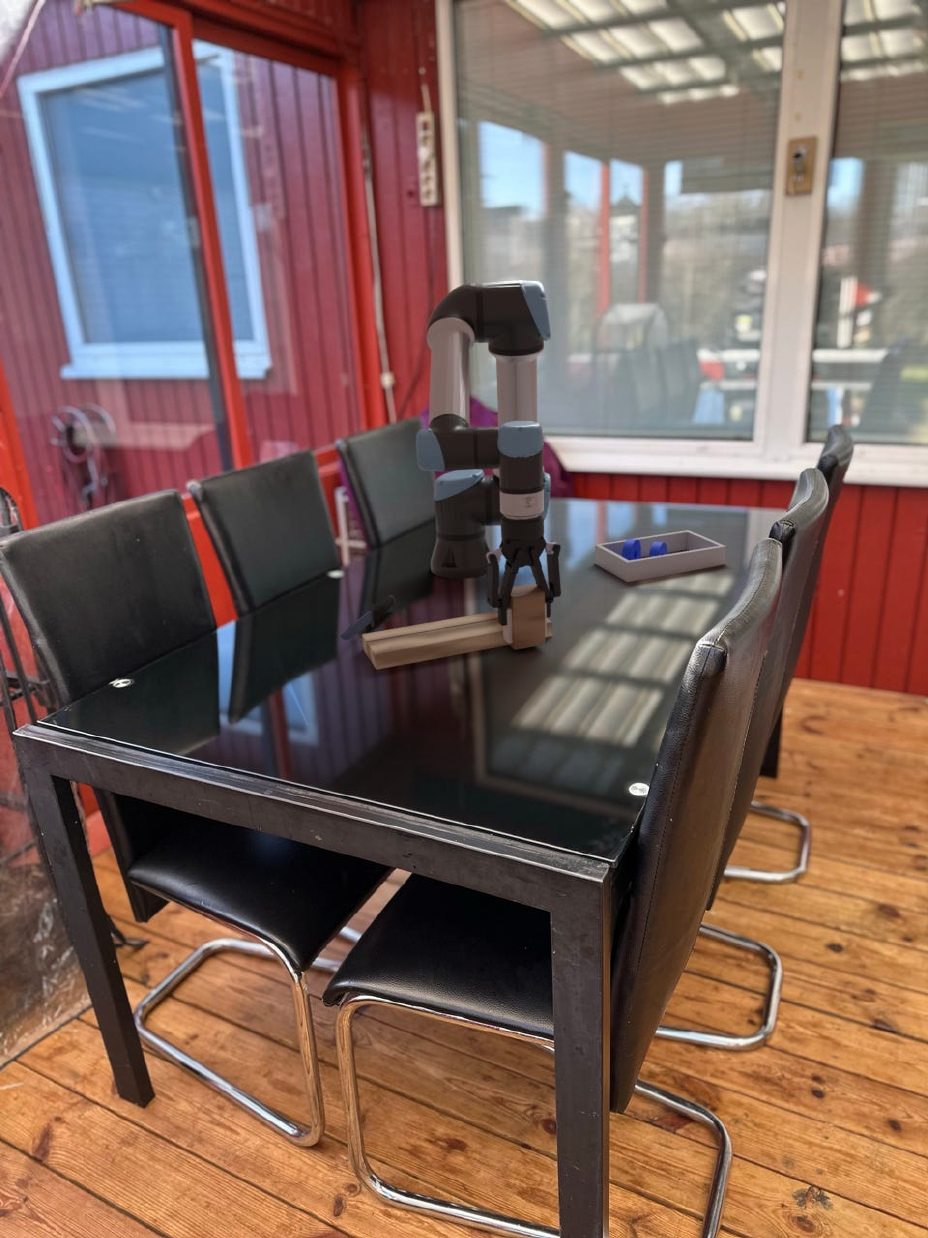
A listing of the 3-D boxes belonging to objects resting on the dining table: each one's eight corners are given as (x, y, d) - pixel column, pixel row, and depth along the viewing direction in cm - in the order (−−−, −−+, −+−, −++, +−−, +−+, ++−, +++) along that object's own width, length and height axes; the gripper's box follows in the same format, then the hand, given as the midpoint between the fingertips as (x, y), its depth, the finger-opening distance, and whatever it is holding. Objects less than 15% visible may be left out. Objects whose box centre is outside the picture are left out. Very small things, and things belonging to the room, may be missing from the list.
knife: (387, 611, 184) (385, 588, 183) (397, 612, 184) (396, 589, 182) (335, 652, 163) (333, 626, 161) (347, 653, 162) (345, 627, 160)
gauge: (480, 617, 174) (478, 568, 170) (508, 612, 175) (507, 564, 172) (514, 649, 158) (513, 597, 155) (545, 643, 160) (544, 591, 156)
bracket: (656, 586, 197) (658, 547, 194) (620, 581, 201) (621, 543, 198) (680, 563, 211) (682, 526, 208) (647, 559, 215) (648, 523, 212)
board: (363, 649, 165) (361, 634, 164) (530, 619, 175) (530, 604, 174) (376, 669, 156) (375, 653, 155) (551, 636, 166) (551, 621, 165)
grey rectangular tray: (594, 563, 206) (594, 544, 204) (687, 548, 213) (688, 530, 212) (627, 582, 193) (627, 562, 191) (724, 565, 200) (726, 546, 199)
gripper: (478, 526, 146) (483, 654, 155) (581, 511, 152) (581, 635, 160) (462, 516, 153) (469, 639, 161) (562, 502, 158) (563, 622, 167)
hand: (525, 637), depth 161 cm, fingers closed on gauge, 6 cm apart
